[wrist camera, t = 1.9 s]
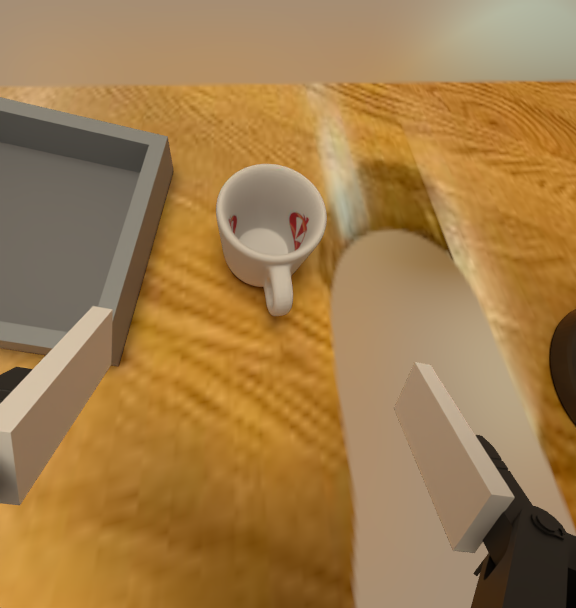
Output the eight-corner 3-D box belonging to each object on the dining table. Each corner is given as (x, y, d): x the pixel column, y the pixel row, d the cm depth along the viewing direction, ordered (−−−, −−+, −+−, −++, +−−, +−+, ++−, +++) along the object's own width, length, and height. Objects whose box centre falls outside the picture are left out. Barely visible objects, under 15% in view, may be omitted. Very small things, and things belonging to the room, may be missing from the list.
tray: (173, 171, 35) (167, 136, 31) (118, 366, 29) (102, 356, 25) (-41, 123, 33) (-79, 78, 29) (-150, 324, 27) (-218, 306, 23)
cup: (317, 323, 33) (346, 293, 26) (226, 335, 31) (229, 306, 24) (295, 215, 36) (316, 160, 29) (211, 220, 34) (209, 163, 27)
